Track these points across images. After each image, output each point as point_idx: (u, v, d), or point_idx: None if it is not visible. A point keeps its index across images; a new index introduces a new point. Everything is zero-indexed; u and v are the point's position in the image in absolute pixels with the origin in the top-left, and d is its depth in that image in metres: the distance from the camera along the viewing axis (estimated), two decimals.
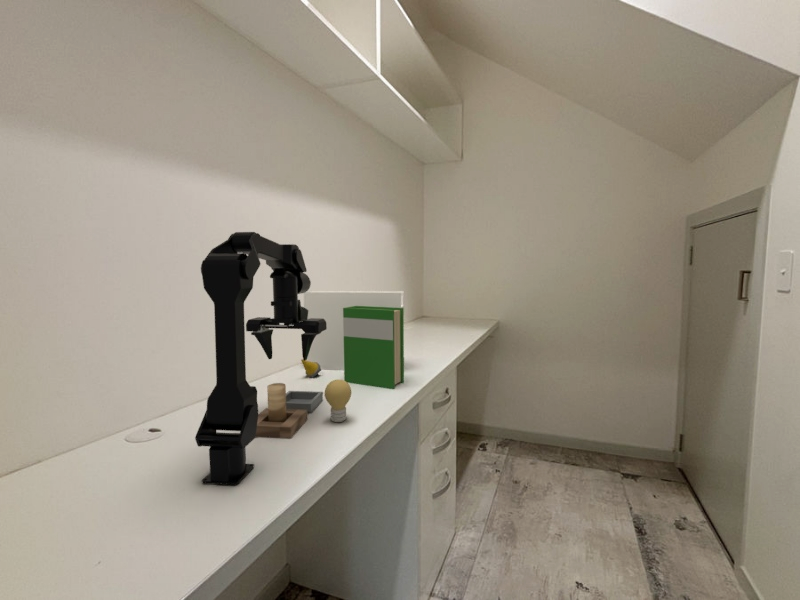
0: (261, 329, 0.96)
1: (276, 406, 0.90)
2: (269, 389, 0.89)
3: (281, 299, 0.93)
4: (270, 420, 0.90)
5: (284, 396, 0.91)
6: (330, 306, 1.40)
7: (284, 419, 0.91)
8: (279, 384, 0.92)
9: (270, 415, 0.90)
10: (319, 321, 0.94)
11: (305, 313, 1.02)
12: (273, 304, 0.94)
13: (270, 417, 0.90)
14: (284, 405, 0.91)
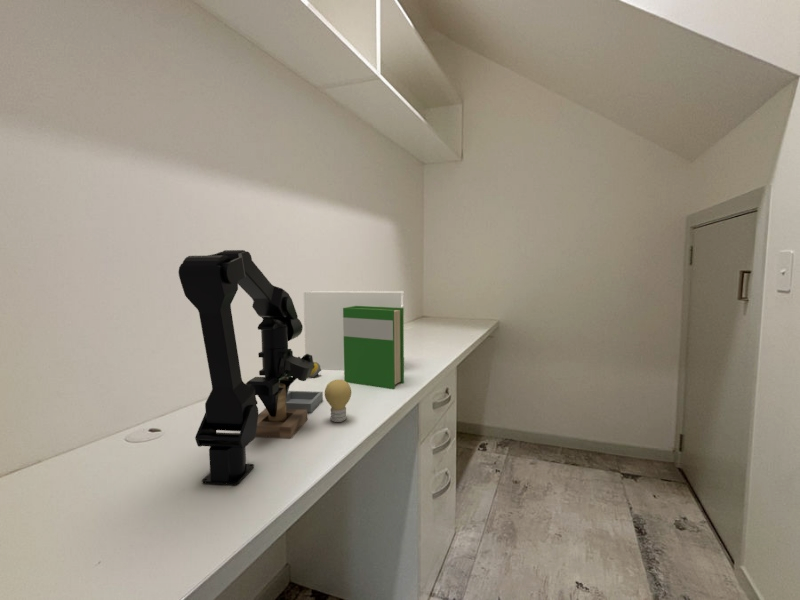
0: None
1: None
2: None
3: None
4: (270, 420, 0.90)
5: (284, 396, 0.91)
6: (330, 306, 1.40)
7: (284, 419, 0.91)
8: (279, 384, 0.92)
9: None
10: (252, 382, 0.82)
11: (296, 370, 0.88)
12: None
13: (270, 417, 0.90)
14: (284, 405, 0.91)
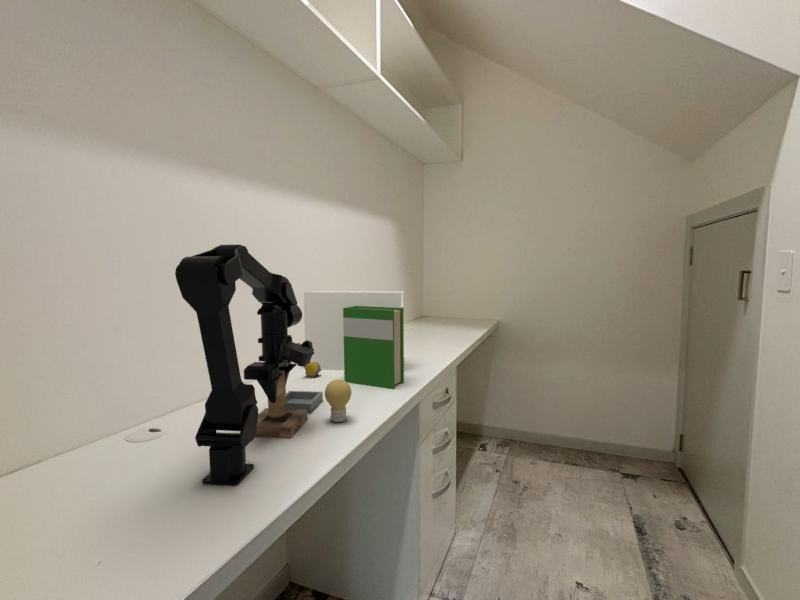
0: None
1: None
2: None
3: None
4: (270, 406, 0.90)
5: (284, 382, 0.91)
6: (330, 306, 1.40)
7: (284, 405, 0.91)
8: (279, 370, 0.92)
9: None
10: (251, 367, 0.82)
11: (295, 355, 0.87)
12: None
13: (270, 403, 0.90)
14: (284, 391, 0.91)
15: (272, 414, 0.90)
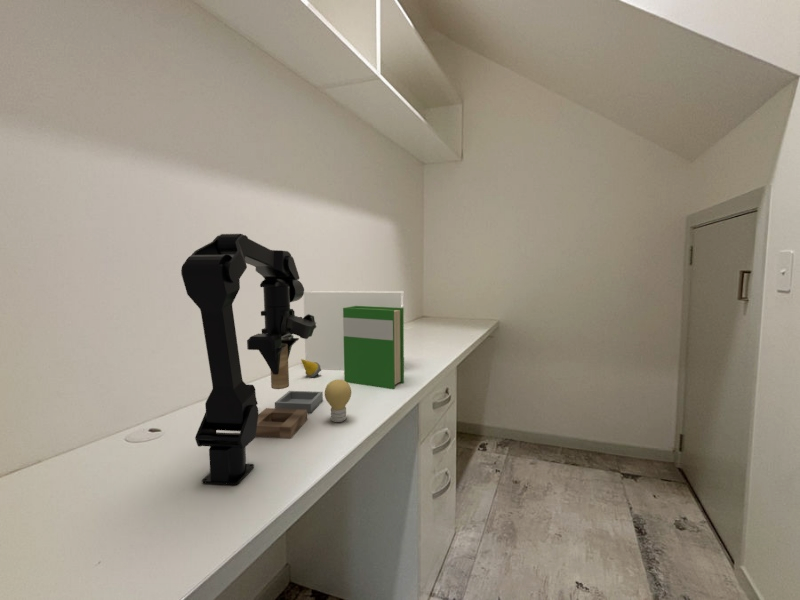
0: None
1: None
2: None
3: None
4: (272, 378, 0.91)
5: (286, 355, 0.92)
6: (330, 306, 1.40)
7: (286, 378, 0.92)
8: None
9: (272, 373, 0.91)
10: (255, 337, 0.83)
11: (298, 327, 0.89)
12: None
13: (272, 375, 0.91)
14: (286, 364, 0.92)
15: (275, 386, 0.91)
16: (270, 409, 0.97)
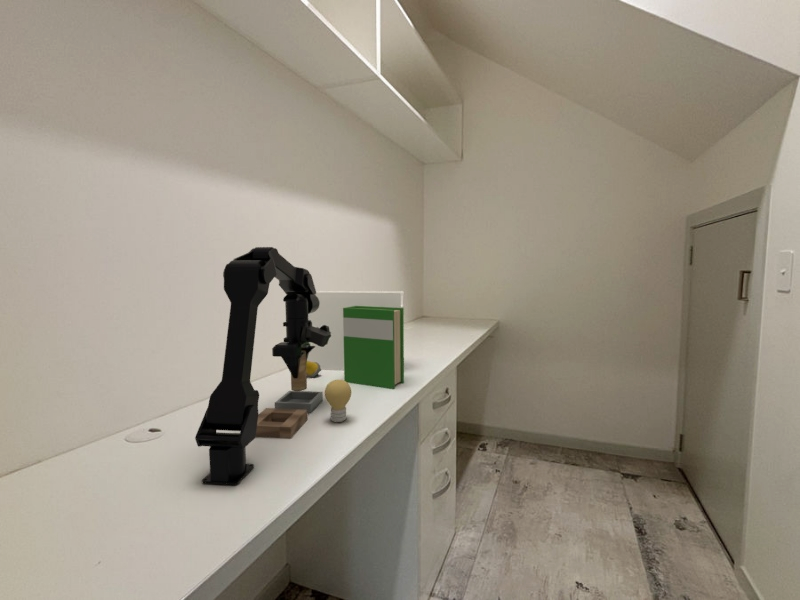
0: None
1: None
2: None
3: None
4: (293, 381, 1.03)
5: (305, 361, 1.04)
6: (330, 306, 1.40)
7: (305, 381, 1.04)
8: None
9: None
10: (279, 346, 0.95)
11: (315, 337, 1.01)
12: None
13: (293, 378, 1.03)
14: (305, 368, 1.04)
15: (295, 388, 1.03)
16: (270, 409, 0.97)
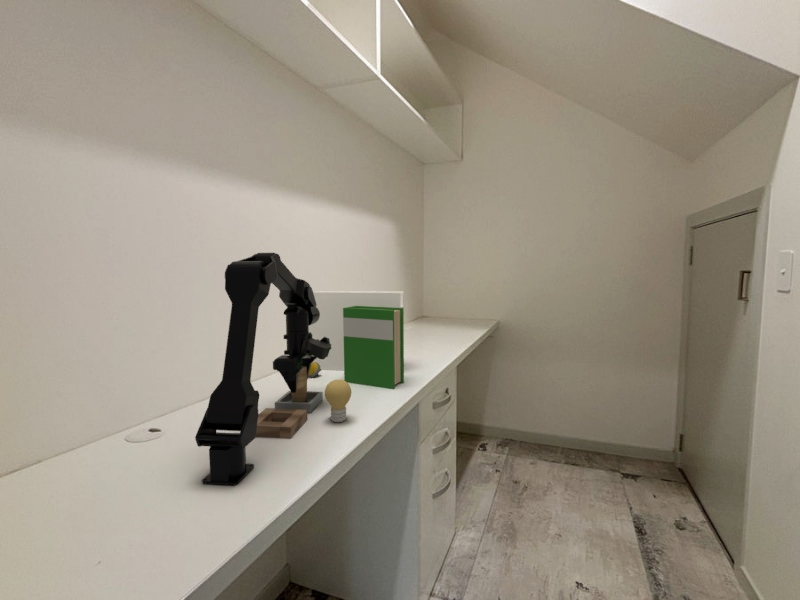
0: None
1: (299, 385, 1.03)
2: None
3: None
4: (293, 397, 1.04)
5: (305, 377, 1.05)
6: (330, 306, 1.40)
7: (305, 397, 1.05)
8: (301, 366, 1.06)
9: (293, 393, 1.04)
10: (279, 359, 0.96)
11: (316, 349, 1.01)
12: None
13: (293, 394, 1.04)
14: (305, 384, 1.05)
15: None
16: (270, 409, 0.97)
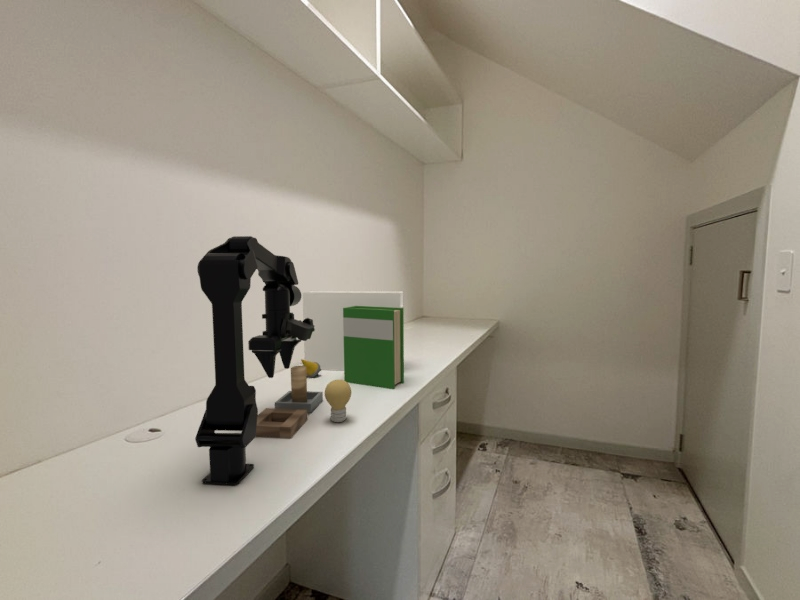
0: None
1: (299, 385, 1.03)
2: (293, 371, 1.03)
3: None
4: (293, 397, 1.04)
5: (305, 377, 1.05)
6: (329, 306, 1.39)
7: (305, 397, 1.05)
8: (300, 366, 1.06)
9: (293, 393, 1.04)
10: (256, 338, 0.87)
11: (297, 330, 0.93)
12: None
13: (293, 394, 1.04)
14: (305, 384, 1.05)
15: None
16: (270, 409, 0.97)
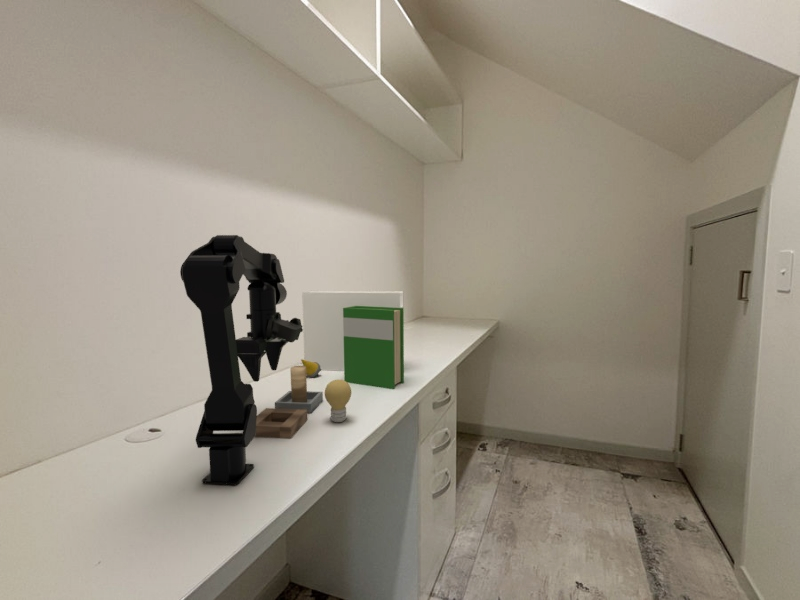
0: None
1: (299, 385, 1.03)
2: (293, 371, 1.03)
3: None
4: (293, 397, 1.04)
5: (305, 376, 1.05)
6: (329, 306, 1.39)
7: (305, 396, 1.05)
8: (300, 366, 1.06)
9: (293, 393, 1.04)
10: (239, 341, 0.83)
11: (283, 331, 0.88)
12: None
13: (293, 394, 1.04)
14: (305, 384, 1.05)
15: None
16: (270, 409, 0.97)
